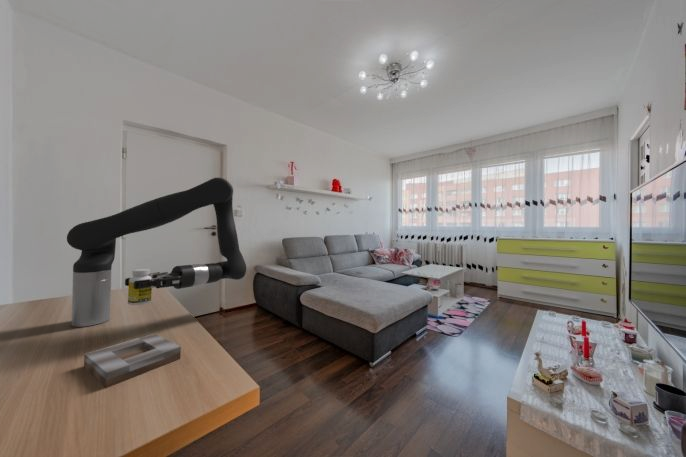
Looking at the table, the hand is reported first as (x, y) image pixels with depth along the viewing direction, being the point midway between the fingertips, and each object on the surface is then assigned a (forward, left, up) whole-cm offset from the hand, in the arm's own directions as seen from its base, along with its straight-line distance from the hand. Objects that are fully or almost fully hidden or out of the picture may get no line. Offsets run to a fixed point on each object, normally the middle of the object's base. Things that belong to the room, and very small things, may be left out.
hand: (130, 283), depth 73 cm
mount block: (+16, -4, -16) cm, 23 cm away
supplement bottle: (0, +3, -6) cm, 7 cm away
